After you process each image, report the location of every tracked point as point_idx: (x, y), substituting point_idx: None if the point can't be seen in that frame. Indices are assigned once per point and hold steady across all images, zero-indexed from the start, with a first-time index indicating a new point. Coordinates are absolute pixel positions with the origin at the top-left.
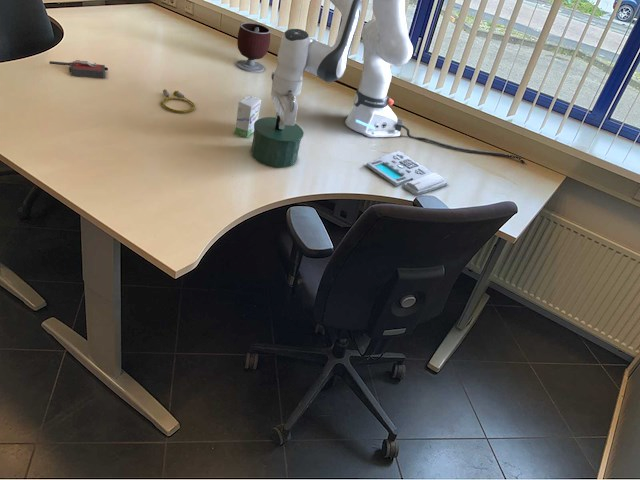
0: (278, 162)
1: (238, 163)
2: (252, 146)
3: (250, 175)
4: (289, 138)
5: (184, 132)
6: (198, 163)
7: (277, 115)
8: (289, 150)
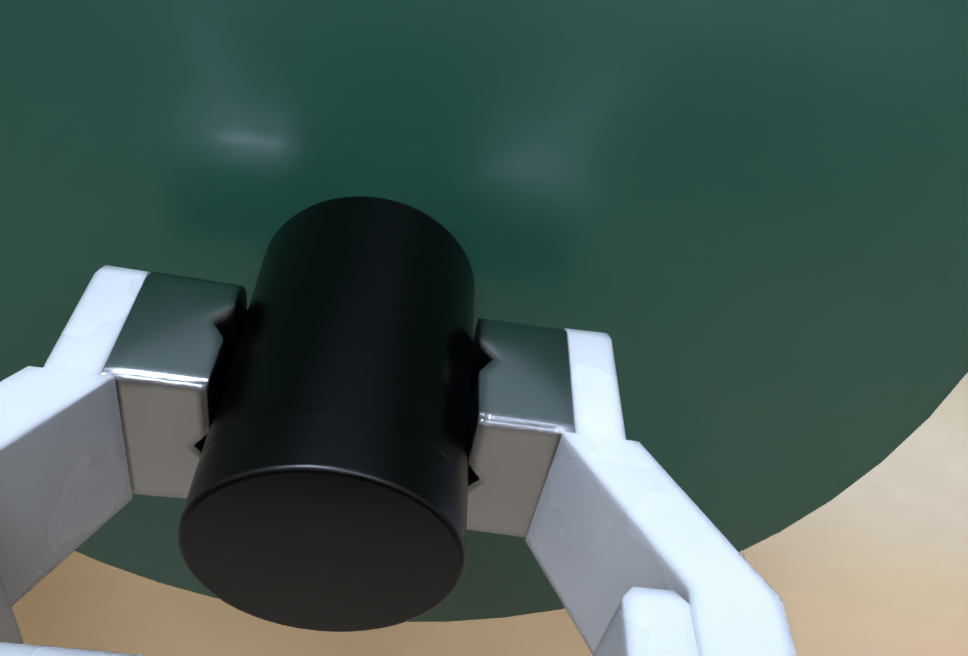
0: None
1: None
2: None
3: None
4: (928, 221)
5: (32, 617)
6: (525, 631)
7: (89, 520)
8: None
